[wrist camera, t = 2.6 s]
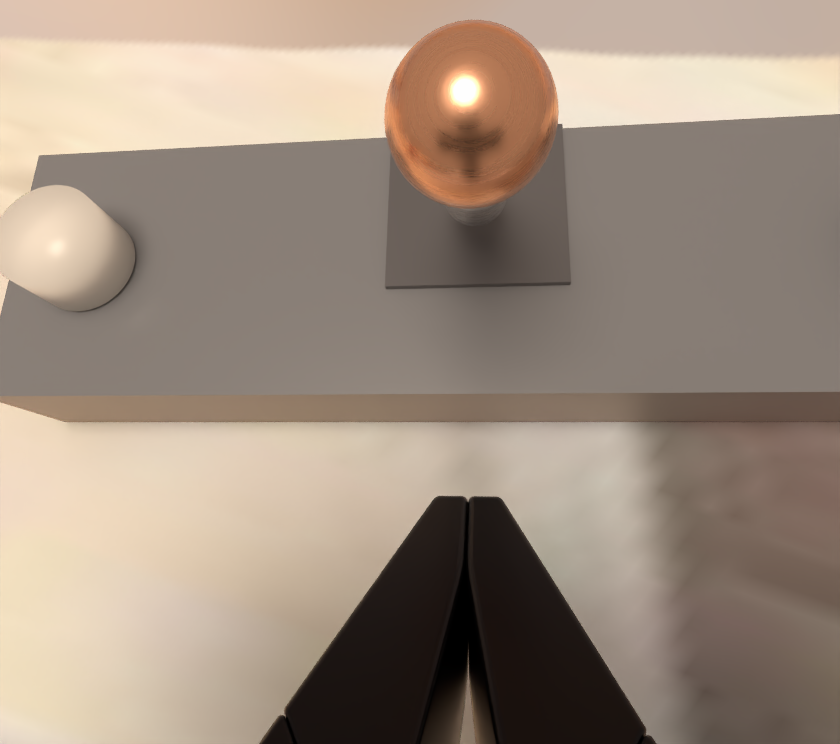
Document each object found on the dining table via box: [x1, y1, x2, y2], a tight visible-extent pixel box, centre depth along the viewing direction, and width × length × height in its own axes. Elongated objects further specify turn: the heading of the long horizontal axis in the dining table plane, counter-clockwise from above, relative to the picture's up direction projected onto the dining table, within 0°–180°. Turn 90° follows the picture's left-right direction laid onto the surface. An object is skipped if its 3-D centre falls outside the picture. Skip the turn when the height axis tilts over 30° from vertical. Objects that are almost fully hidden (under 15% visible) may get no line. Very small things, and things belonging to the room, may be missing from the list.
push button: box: [0, 185, 135, 312], centre depth 17 cm, size 3×3×2 cm
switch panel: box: [0, 114, 840, 422], centre depth 18 cm, size 8×28×4 cm, turn 89°
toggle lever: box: [384, 20, 559, 226], centre depth 11 cm, size 2×2×9 cm
